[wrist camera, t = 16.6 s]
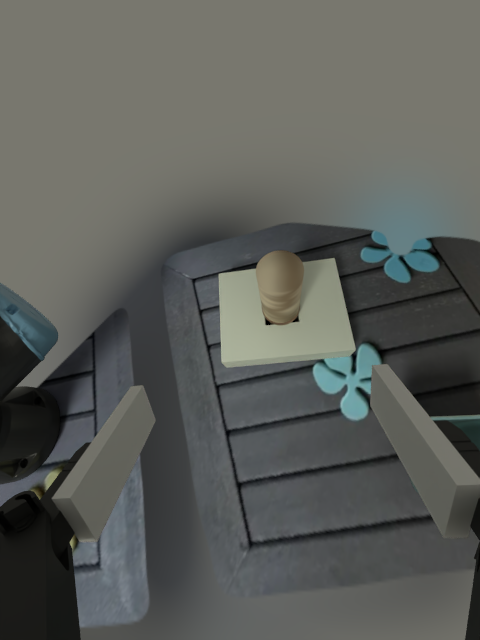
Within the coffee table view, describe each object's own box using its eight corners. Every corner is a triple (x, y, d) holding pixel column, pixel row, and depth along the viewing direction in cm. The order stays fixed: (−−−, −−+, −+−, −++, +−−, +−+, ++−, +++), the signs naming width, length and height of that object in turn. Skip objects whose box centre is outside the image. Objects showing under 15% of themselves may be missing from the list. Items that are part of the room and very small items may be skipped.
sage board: (226, 367, 44) (221, 362, 41) (223, 284, 50) (218, 273, 47) (349, 356, 42) (355, 349, 38) (330, 270, 48) (334, 257, 44)
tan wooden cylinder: (265, 334, 45) (257, 295, 31) (262, 303, 47) (253, 253, 33) (301, 331, 44) (308, 289, 30) (296, 299, 46) (301, 246, 33)
